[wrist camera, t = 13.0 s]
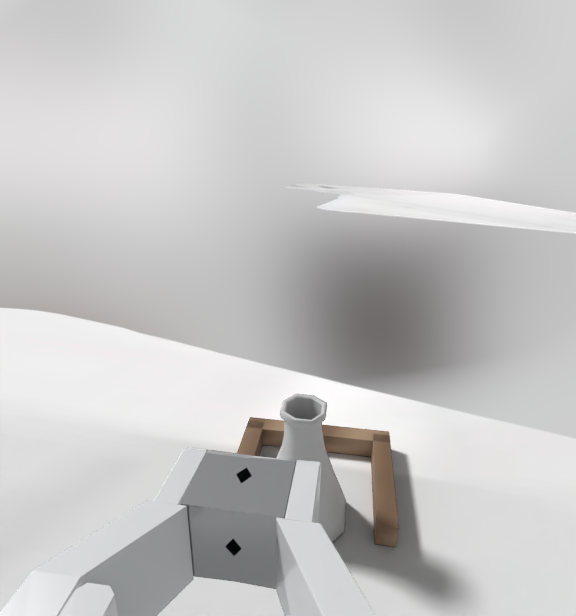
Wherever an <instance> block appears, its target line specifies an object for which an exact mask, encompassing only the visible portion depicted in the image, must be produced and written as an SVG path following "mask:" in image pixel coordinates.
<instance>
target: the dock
mask: <svg viewBox="0 0 576 616" xmlns="http://www.w3.org/2000/svg"><path fill="white" fill-rule="evenodd" d="M322 433H323V439H324V445H325V449H326V452H333V453H342V454H351V455H360V456H369V457H371V466H372V491H373V516H374V541H375V544H379V545H386V546H393V547H396V543H397V537H398V530H399V526H398V516H397V506H396V496H395V486H394V476H393V466H392V456H391V446H390V436H389V432H387V431H377V430H368V429H358V428H348V427H339V426H329V425H322ZM283 437H284V421H281V420H271V419H262V418H252V417H250V419H249V421H248V424H247V427H246V430H245V432H244V435H243V438H242V441H241V444H240V446H239V449H238V452H237V454H245V455H252V456H259V455H260V452H261V448H262V445H270V446H279V447H281V446H282V442H283Z"/></svg>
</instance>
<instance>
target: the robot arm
mask: <svg viewBox="0 0 576 616" xmlns="http://www.w3.org/2000/svg"><path fill="white" fill-rule="evenodd" d="M320 481H321V463H320V462H315V461H304V460H289V459H279V458H270V457H260V456H252V455H245V454H237V453H230V452H223V451H216V450H205V449H198V448H191V447H187V448H186V449H184V450H183V451H182V453H181V454H180V456H179V458H178V460H177V461H176V463H175V465H174V467H173V468H172V470H171V472H170V473H169V475H168V477H167V479H166V480H165V482H164V484H163V486H162V487H161V489H160V491H159V492H158V494H157V496H156V498H155V499H154V501H145V502H143V503H142V504H140V505H139V506H137V507H135V508H134V509H132V510H130V511H129V512H127V513H125V514H124V515H122V516H121V517H119V518H117V519H116V520H114V521H112V522H111V523H109V524H108V525H106V526H104V527H103V528H101V529H99V530H98V531H96V532H94V533H93V534H91V535H90V536H88V537H86V538H85V539H83V540H81V541H80V542H78V543H77V544H75V545H73V546H72V547H70V548H68V549H67V550H65V551H63V552H62V553H60V554H59V555H57V556H55V557H54V558H52V559H50V560H49V561H47V562H46V563H44V564H42V565H41V566H39V567H37V568H36V569H34V570H32V571H31V573H30V574H29V575H28V577H27V578H26V579H25V581H24V582H23V583H22V584H21V586H20V587H19V588H18V590H17V591H16V592H15V594H14V595H13V596H12V597H11V599H10V600H9V601H8V603H7V604H6V605H5V607H4V608H3V609H2V610H1V612H0V616H157V615H158V614H159V613H160V612H161V611H162V610H163V609H164V608H165V607H166V606H167V605H168V604H169V603H170V602H171V601H172V600H173V599H174V598H175V597H176V596H177V595H178V594H179V593H180V592H181V591H182V590H183V589H184V588H185V587H186V586H187V585H188V584H189V583H190V582H191V581H192V580H193V576H195V577H203V578H211V579H219V580H227V581H235V582H240V583H246V584H251V585H257V586H262V587H267V588H273V589H276V591H277V594H278V597H279V600H280V603H281V606H282V609H283V612H284V614H285V616H376V615H375V613H374V611H373V610H372V608H371V606H370V605H369V603H368V601H367V600H366V598H365V596H364V595H363V593H362V591H361V590H360V588H359V586H358V585H357V583H356V581H355V580H354V578H353V576H352V575H351V573H350V571H349V570H348V568H347V566H346V565H345V563H344V561H343V560H342V558H341V556H340V555H339V553H338V551H337V550H336V548H335V546H334V545H333V543H332V541H331V540H330V538H329V536H328V535H327V533H326V531H325V530H324V528H323V526H322V525H321V524H320V523H318V519H319V502H320Z"/></svg>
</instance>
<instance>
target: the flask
mask: <svg viewBox="0 0 576 616" xmlns="http://www.w3.org/2000/svg"><path fill="white" fill-rule="evenodd" d="M326 409H327V403H326V402H324V401H322V400H321V399H319V398H317V397H315V396H314V395H304V394H294V395H293V396H291V397H289V398H287V399H286V400H284V401H283V403H282V407H281V411H280V416H281V418H282V419H284V437H283V442H282V446H281V448H280V451H279V453H278V455H277V458H279V459H289V460H304V461H315V462H320V463H321V481H320V502H319V519H318V523H320V524H321V525H322V526H323V528H324V530H325V531H326V533H327V535H328V536H329V538H330V540H331V541H332V542H333V541H334V540H335V539H336V538H337V537H338V536H339V535H340V534H342V533H343V532H344V531H345V505H346V500H345V497H344V494H343V492H342V489H341V487H340V485H339V482H338V480H337V478H336V475H335V473H334V471H333V468H332V465H331V462H330V460H329V457H328V454H327V452H326V449H325V445H324V439H323V433H322V421H324V420H325V417H326Z"/></svg>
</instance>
